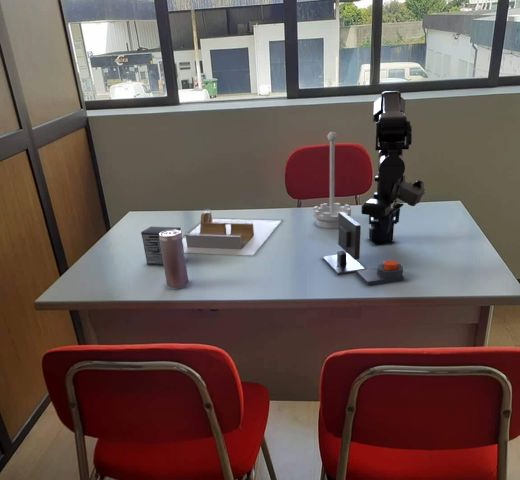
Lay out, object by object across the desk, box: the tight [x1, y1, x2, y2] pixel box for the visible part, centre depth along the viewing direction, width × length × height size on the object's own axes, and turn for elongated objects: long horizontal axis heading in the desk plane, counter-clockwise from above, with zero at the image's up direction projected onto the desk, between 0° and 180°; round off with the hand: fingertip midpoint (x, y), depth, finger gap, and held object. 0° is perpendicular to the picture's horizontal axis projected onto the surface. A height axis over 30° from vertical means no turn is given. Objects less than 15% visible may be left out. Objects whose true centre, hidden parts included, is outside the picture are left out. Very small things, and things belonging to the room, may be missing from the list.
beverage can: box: [159, 229, 189, 290], centre depth 141 cm, size 6×6×15 cm
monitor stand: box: [322, 250, 366, 276], centre depth 148 cm, size 8×13×4 cm, turn 12°
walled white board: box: [182, 208, 282, 256], centre depth 177 cm, size 29×35×8 cm
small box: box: [140, 226, 182, 267], centre depth 158 cm, size 11×6×10 cm, turn 71°
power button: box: [383, 259, 399, 270], centre depth 138 cm, size 4×4×2 cm
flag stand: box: [312, 131, 352, 229], centre depth 175 cm, size 13×13×30 cm
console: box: [355, 262, 405, 287], centre depth 139 cm, size 11×8×3 cm
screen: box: [337, 212, 362, 261], centre depth 145 cm, size 3×13×10 cm, turn 12°
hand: (386, 232), depth 136 cm, fingers closed
